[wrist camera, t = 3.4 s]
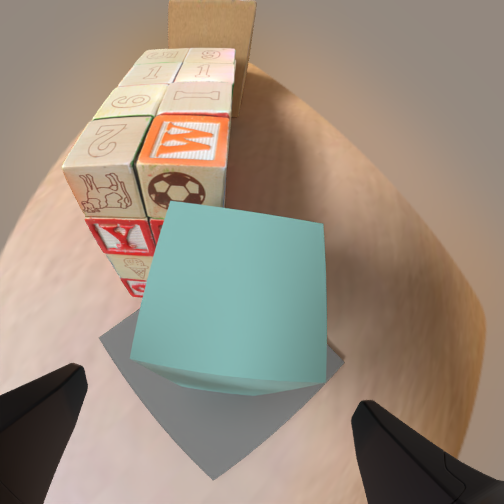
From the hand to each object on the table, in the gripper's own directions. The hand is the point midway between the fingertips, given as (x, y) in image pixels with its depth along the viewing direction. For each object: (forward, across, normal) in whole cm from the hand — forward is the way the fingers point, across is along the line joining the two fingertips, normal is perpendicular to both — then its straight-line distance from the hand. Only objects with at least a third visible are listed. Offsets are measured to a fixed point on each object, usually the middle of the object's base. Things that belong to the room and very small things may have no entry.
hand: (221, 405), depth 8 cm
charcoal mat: (+9, 0, +5) cm, 11 cm away
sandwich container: (+34, +6, -18) cm, 39 cm away
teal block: (+9, 0, +5) cm, 10 cm away
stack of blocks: (+19, +5, -5) cm, 20 cm away
